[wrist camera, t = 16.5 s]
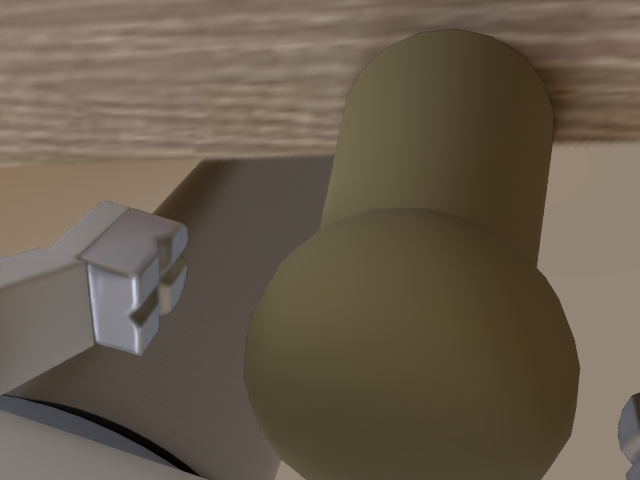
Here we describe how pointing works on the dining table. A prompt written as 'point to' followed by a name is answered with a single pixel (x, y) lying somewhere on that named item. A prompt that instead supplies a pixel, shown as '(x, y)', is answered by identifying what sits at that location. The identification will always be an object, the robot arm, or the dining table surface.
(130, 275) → the robot arm
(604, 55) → the dining table surface
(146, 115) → the dining table surface
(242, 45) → the dining table surface
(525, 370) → the olive brown tapered piece
